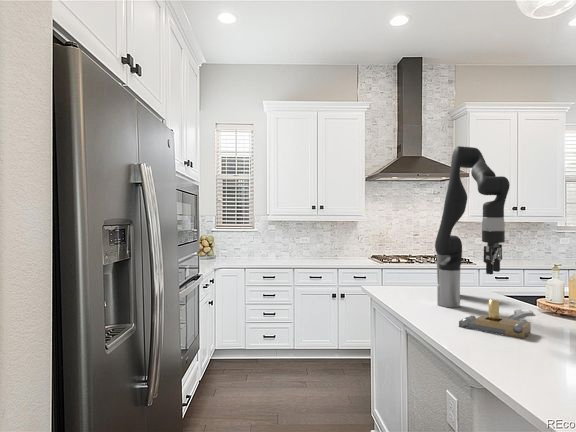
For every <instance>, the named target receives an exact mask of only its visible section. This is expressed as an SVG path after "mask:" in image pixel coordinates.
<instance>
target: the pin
mask: <svg viewBox="0 0 576 432" xmlns="http://www.w3.org/2000/svg"><path fill="white" fill-rule="evenodd" d="M488 315H489V320H492V321H498V322H499V317H500V301H499V299H498V300H497V299H491V298H490V299H488Z"/></svg>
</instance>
